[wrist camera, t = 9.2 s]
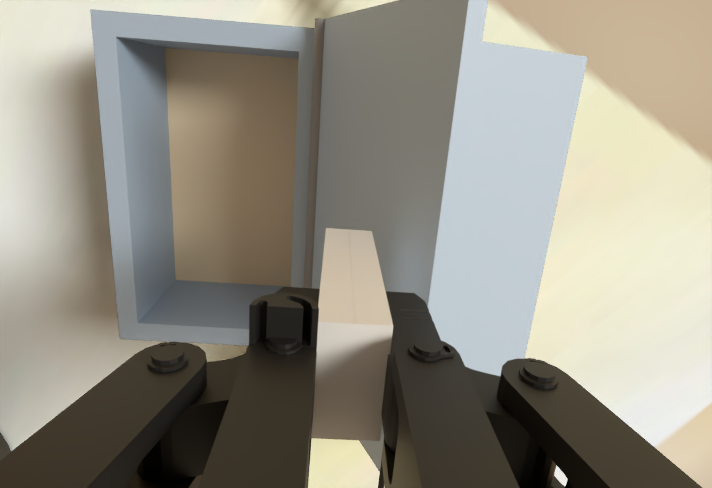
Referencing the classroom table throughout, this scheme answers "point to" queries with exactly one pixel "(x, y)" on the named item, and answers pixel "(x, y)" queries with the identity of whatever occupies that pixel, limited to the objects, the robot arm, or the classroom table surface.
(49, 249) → the classroom table surface
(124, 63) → the box
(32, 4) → the classroom table surface
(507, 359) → the lid
